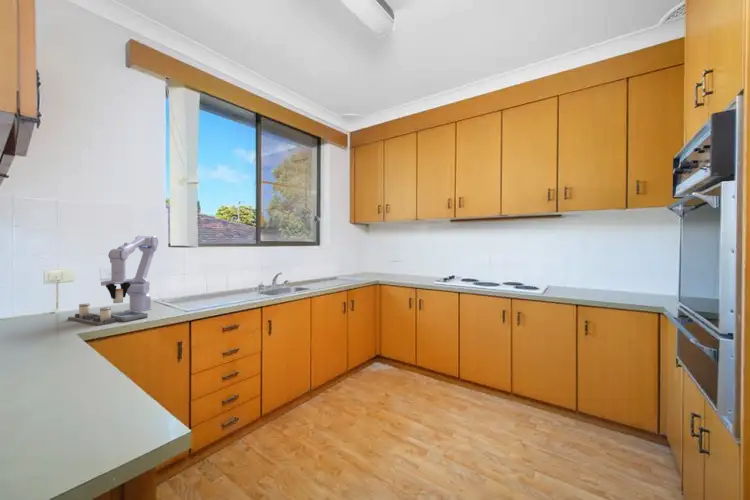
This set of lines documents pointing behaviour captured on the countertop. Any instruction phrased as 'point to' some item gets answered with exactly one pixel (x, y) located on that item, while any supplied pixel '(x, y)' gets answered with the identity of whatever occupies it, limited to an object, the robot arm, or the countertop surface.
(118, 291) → the cylinder
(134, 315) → the tray
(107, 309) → the fuse
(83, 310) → the cream capsule cylinder
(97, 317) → the clip rail
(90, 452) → the countertop surface
